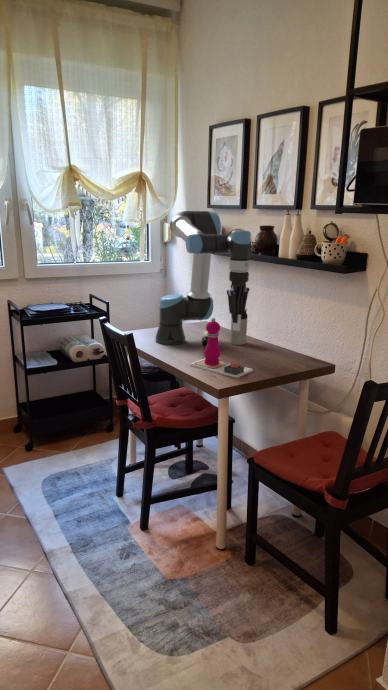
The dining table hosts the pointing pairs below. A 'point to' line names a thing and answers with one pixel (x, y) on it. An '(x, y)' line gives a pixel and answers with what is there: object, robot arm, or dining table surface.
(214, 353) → the pepper mill
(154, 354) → the dining table surface
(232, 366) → the button
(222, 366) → the picture board
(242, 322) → the travel mug
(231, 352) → the dining table surface
